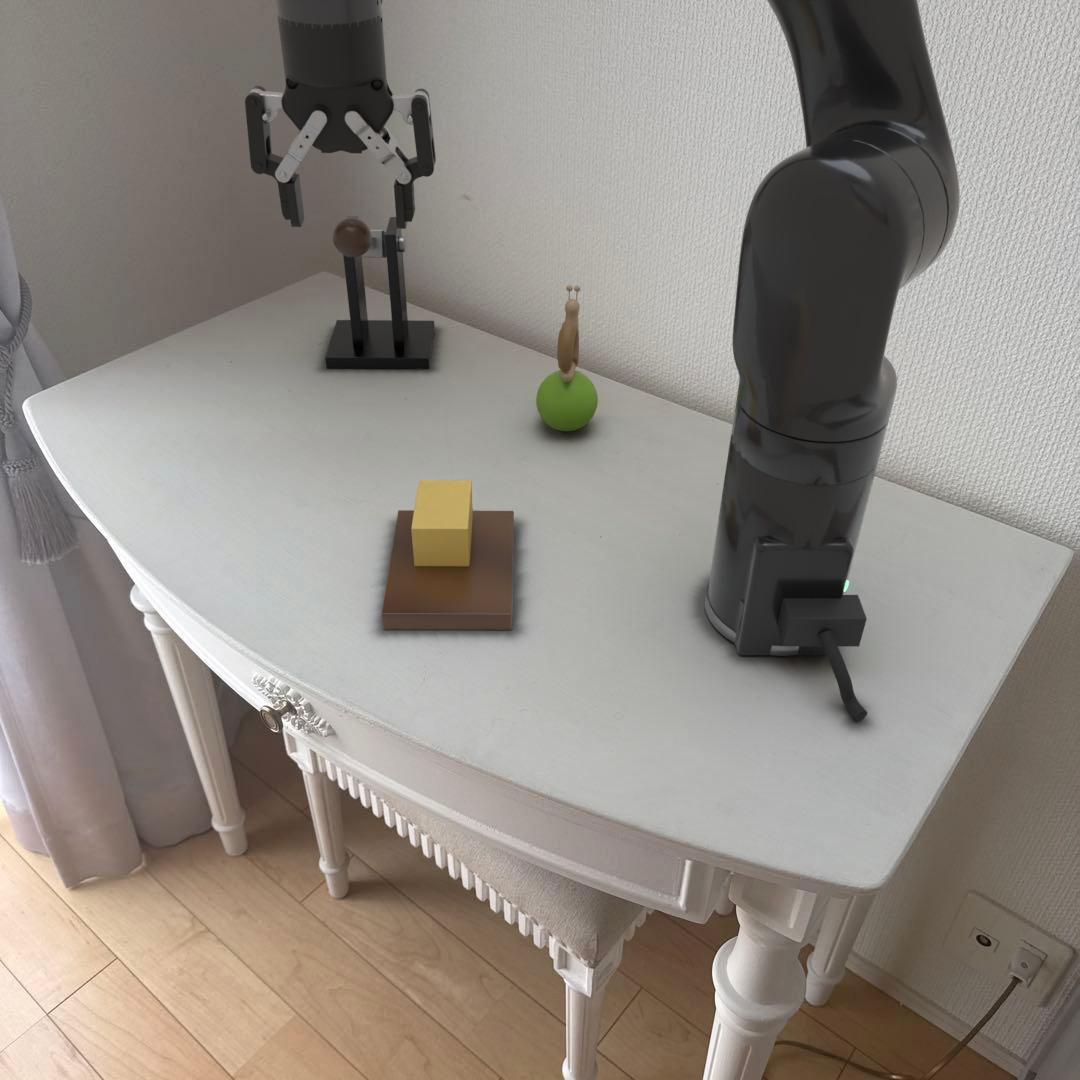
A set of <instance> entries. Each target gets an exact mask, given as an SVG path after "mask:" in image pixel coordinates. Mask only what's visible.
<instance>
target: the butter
mask: <svg viewBox="0 0 1080 1080" xmlns="http://www.w3.org/2000/svg"><path fill="white" fill-rule="evenodd" d="M472 484H473V481H472V480H471V479H418V481H417V486H416V487H417V488H416V494H415V502H414V507H413V508H414V509H413V510H414V514H413V521H412V528H411V530H412V542H413V555H414V566H469V564H470V550H471V536H472V522H473V511H474V509H473V508H474V507H473V485H472Z"/></svg>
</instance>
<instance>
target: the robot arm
mask: <svg viewBox="0 0 1080 1080" xmlns="http://www.w3.org/2000/svg"><path fill="white" fill-rule="evenodd" d="M274 1H275V10H276V16H277V26H278V33H279V41H280V49H281V56H282V57H281V58H282V64H283V72H284V79H285V80H284V81H285V87H284V90H283V92H279V91H270V90H269V91H268V90H266V88H264V86H261V85H255V86H254V87H253V88H251V90H250V91H249V93H248V94H247V96H246V97H245V99H244V106H245V119H246V127H247V128H246V130H247V138H248V150H249V158H250V159H249V160H250V161H249V162H250V168H251V170H252V171H253V172H254V173H255V174H257V175H263V174H265V175H268V176H270V177H272V178H273V179H274V180H275V181H276V183H277V187H278V195H279V201H280V208H281V214H282V216H283V218H284V220H285V221H290V225H291V228H301V227H302V226H303V223H304V222H305V221H304V220H305V212H304V203H303V195H302V187H301V179H300V173H297V172H296V171H297V169H298V168H299V166H300V165H301V163H302V162H303V160H304V159H305V157H306V155H307V154H308V152H309V151H310V149H311V147H314V148H315V149H316V150H319V151H320V152H321V154H333V153H337V152H346V153H349V154H362V153H363V152H364V151H367V150H369V151H370V153H371V154H372V155H373V156H374V157H375V159H376V160H377V162H379V163H380V164H382V165H383V166H384V167H386V169H387V170H388V171H389V172H390V174H391V176H393V177H394V184H393V193H394V206H395V207H394V210H395V217H396V223H397V229H401V230H402V229H403V230H405V229H407V227H408V226H407V225H408V222H409V223H410V222H412V221H413V219H414V216H415V212H416V201H415V200H416V199H415V185H414V184H415V183H414V182H415V181H416V180H417V179H419V178H423V177H426V178H428V177H430V176H432V175H433V174H434V171H435V164H436V160H437V158H436V157H437V156H436V147H435V137H434V129H433V120H432V118H433V117H432V110H431V100H430V93H429V91H427V90H426V89H425V88H417V89H416V90H415V91H414V92H412V93H393V92H392V90H391V89H390V86H389V83H388V80H387V66H386V65H387V64H386V53H385V38H384V24H383V23H384V22H383V9H382V5H383V0H274ZM766 1H767V3H768V5H769V6H770V8H771V10H772V12H773V13H774V16H775V17H776V19H777V22H778V24H779V26H780V29H781V31H782V33H783V35H784V38H785V42H786V44H787V48H788V51H789V53H790V58H791V61H792V65H793V70H794V73H795V78H796V83H797V89H798V95H799V100H800V106H801V114H802V120H803V128H804V129H803V130H804V137H805V148H803V149H801V150H799V151H797V152H795V153H793V154H791V155H789V156H788V157H785V158H784V159H783V160H781V161H780V162H778V163H777V164H775V166H773V167H772V168H771V169H770V170H769V171H768V172H767V174H766V175H765V176H764V178H763V179H762V180H761V182H760V183H759V185H758V186H757V188H756V190H755V192H754V194H753V197H752V198H751V202H750V203H749V204H750V205H749V207H748V211H747V214H746V218H745V222H744V227H743V231H742V237H741V244H740V250H739V261H738V270H737V282H736V292H735V302H734V303H735V304H734V313H733V314H734V315H733V324H732V353H733V359H734V360H733V361H734V363H735V367H736V370H737V373H738V376H739V378H738V386H737V387H738V388H737V395H736V400H735V407H734V413H733V419H732V420H733V421H732V427H731V435H730V439H729V445H728V453H727V460H726V467H725V472H724V473H725V474H724V479H723V486H722V492H721V499H720V506H719V513H718V521H717V526H716V533H715V539H714V540H715V541H714V546H713V553H712V559H711V560H712V562H711V569H710V574H709V582H708V583H707V588H706V592H705V599H704V608H705V612H706V616H707V618H708V620H709V622H710V623H711V624H712V626H713V627H714V629H716V630H717V631H718V632H719V633H720V634H721V635H722V636H723V637H725V638H726V639H727V640H729V641H730V642H732V643H733V644H734V646H735V649H736V652H737V654H738V655H739V656H777V657H778V656H779V657H781V656H783V657H785V656H787V657H789V656H826V658H827V660H828V663H829V665H830V667H831V670H832V672H833V675H834V677H835V681H836V683H837V686H838V690H839V694H840V698H841V701H842V703H843V705H844V707H845V708H846V711H848V712H849V714H850V715H851V716H852V718H854V720H855V721H857V722H858V721H863V720H864V719H865V718H866V717H867V716H868V711H867V710H866V708H864V707H863V705H861V703H860V702H859V700H858V698H857V697H856V694H855V692H854V686H853V682H852V678H851V676H850V673H849V671H848V668H847V665H846V663H845V661H844V658H843V656H842V653H841V650H840V648H839V647H860V645H861V641H862V637H863V634H864V630H865V627H866V623H867V619H868V618H867V615H866V613H865V610H864V607H863V604H862V603H861V600H860V597H859V595H858V594H845V592H846V591H847V589H848V587H849V584H850V581H849V576H850V572H851V569H852V565H853V561H854V557H855V553H856V549H857V545H858V541H859V537H860V534H861V531H862V526H863V522H864V518H865V514H866V510H867V506H868V503H869V499H870V494H871V490H872V488H873V482H874V479H875V475H876V471H877V469H878V468H877V467H878V464H879V460H880V457H881V452H882V449H883V446H884V441H885V437H886V433H887V430H888V426H889V422H890V418H891V415H892V410H893V407H894V403H895V399H896V394H897V388H898V376H897V375H898V374H897V372H896V369H895V367H894V365H893V364H892V362H891V361H890V359H888V358H887V356H886V355H885V353H886V348H887V342H888V338H889V334H890V328H891V324H892V319H893V314H894V310H895V306H896V302H897V298H898V294H899V292H900V290H901V289H902V288H904V287H905V286H907V285H908V284H910V283H911V282H912V281H913V280H915V279H916V278H918V277H919V276H920V275H922V274H923V273H924V272H925V271H926V270H927V269H929V268H930V267H931V266H932V265H933V264H934V263H935V262H936V261H937V260H939V259H938V258H939V257H940V256H941V255H942V254H943V252H944V251H945V249H946V248H947V246H948V245H949V242H950V241H951V239H952V237H953V234H954V231H955V228H956V225H957V220H958V217H959V212H960V203H961V202H960V199H961V198H960V196H961V193H960V182H959V174H958V169H957V163H956V158H955V153H954V150H953V145H952V142H951V137H950V134H949V130H948V126H947V122H946V118H945V114H944V111H943V107H942V102H941V98H940V94H939V90H938V87H937V83H936V78H935V74H934V70H933V67H932V62H931V58H930V53H929V50H928V46H927V41H926V36H925V33H924V28H923V23H922V19H921V13H920V7H919V2H918V0H766ZM280 109H282V110H283V112H284V114H285V115H286V116H287V118H288V119H290V121H291V122H292V123H293V124H294V126H295V127H296V128H297V129H298V133H297V134H296V136H295V138H294V140H293V141H292V142H291V144H290V146H289V148H288V149H287V151H286V152H285V154H284V155H283V157H282V156H280V155H277V154H274V153H273V150H272V149H273V148H272V137H271V125H270V123H272V122H273V121H274V120H275V118H276V117H277V115H278V110H280ZM394 111H396V112H397V111H398V112H399V113H400V114H401V116H402V119H403V122H405V124H407V125H411V126H413V135H414V142H415V143H414V144H415V151H416V156H414V157H411V158H410V157H409V156H408V155H407V154H406V152H405V151H404V149H402V146H400V145H399V142H398V140H397V139H396V136H394V134H393V133H392V132H391V131H390V129H388V127H387V125H386V124H387V123H388V121H389V119H390V118H391V116H392V115H393V113H394Z"/></svg>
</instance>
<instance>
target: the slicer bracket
mask: <svg viewBox="0 0 1080 1080" xmlns="http://www.w3.org/2000/svg"><path fill="white" fill-rule="evenodd" d="M348 217H349V216H347V217H346V218H348ZM354 217H355V218H358V219H359V217H358V216H354ZM385 232H386V233H385V242H386V254H387V257H386V265H387V278H388V289H389V302H390V314H391V319H390V320H389V319H385V320H383V319H369V316H368V307H367V297H366V287H365V276H364V267H363V266H364V265H363V257H360V256H359V257H347V256H345V255H343V254H342V255H343V266H344V276H345V284H346V293H347V303H348V312H349V319H337V320H336V321H335V325H334V327H333V331H332V334H331V337H330V340H329V343H328V346H327V350H326V353H325V356H324V361H325V368H326V369H382V370H383V369H392V370H393V369H396V370H397V369H400V370H401V369H402V370H405V369H406V370H415V369H416V370H428V369H430V367H431V366H430V365H431V359H432V351H433V345H434V339H435V333H436V327H435V320H411V319H410V320H409V319H408V308H407V307H408V306H407V293H406V292H407V291H406V278H405V264H404V253H405V252H406V249H407V248H406V246H407V245H406V237H405V236H403V235H402V229H397V223H396V216H390V217H389V219H388V223H387V227H386V230H385Z"/></svg>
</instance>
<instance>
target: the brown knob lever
mask: <svg viewBox="0 0 1080 1080" xmlns="http://www.w3.org/2000/svg"><path fill="white" fill-rule="evenodd" d="M347 217H348V218H347ZM347 217H345V218H343V219H341V220H339V221H338V222H337V223H336V225H335V226H334V227H333V231H332V242H333V245H334V247H335V248H336V250H337V251H338V252H339V253H340V254H341V255H345V256H347V257H359V256H360V257H362V258H365V259H368V258H369V259H370V258H371V259H372V258H373V259H379V258H380V259H387V254H386V242H385V233H386V230H383V229H370V227H369V225H368V224H367V223H366V222H365V221H364V220H362V219H361V218H359V217H358V218H355V217H356V216H347Z"/></svg>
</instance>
